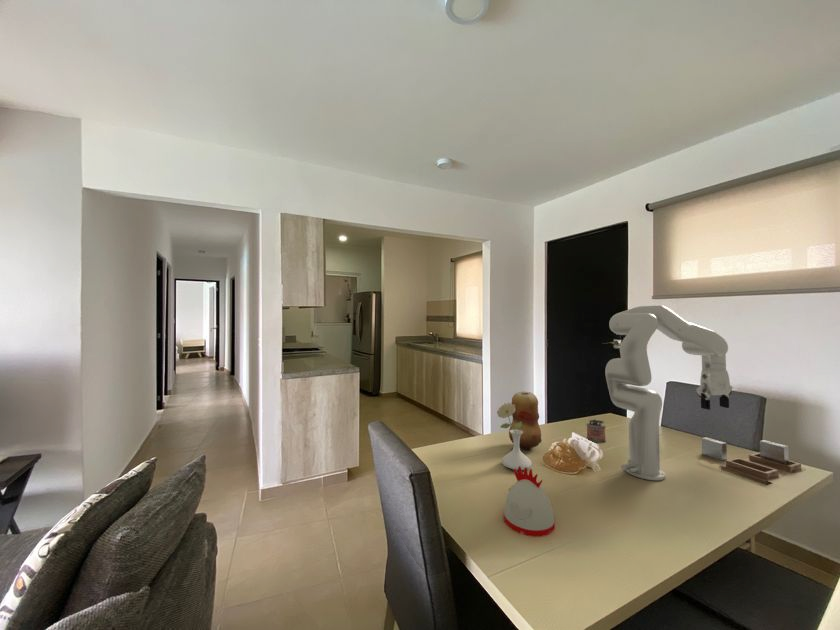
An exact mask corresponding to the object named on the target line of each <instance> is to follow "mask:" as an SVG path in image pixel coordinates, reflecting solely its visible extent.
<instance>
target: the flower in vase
mask: <svg viewBox="0 0 840 630" xmlns="http://www.w3.org/2000/svg"><path fill="white" fill-rule="evenodd" d="M496 412H497V413H496V414H497V417H499V418H502V419H506V418H508V420H509V423H508V422H505V423H502V425H500V428H503V429H508V428H510V426H512V425H511V424H512V421H511V419H510V418H511V417H513V416H512V414H513V413H514V412H515V406H514V404H513V405H512V402H507V403H504V404H501V406H500V407H498V410H497V411H496ZM521 424H522V421H521V422H519V423H516V424H515V425H514V428H519V427H520V426H521ZM512 428H513V426H512ZM514 428H513V430H510V433H511V434H512V437H513V442H512V444H513V446H512V447H513V448H512V450H511V451H510V452H508V453H507V454H505V455H504V456H503V457H502V458H501V464H503V466H504V467H506V468H508V469H510V470H513V471H514V469H516V471H518V467H519V466H520V467H521V470H522V471H524V469H525V468H526V467H527V470H530V469H531V468H532V465H533V463H532V461H531V460H530V458H529V457H527V456H526V454H525V453H523V452H522V451H521V448H520V447H519V442H520V436H521V434H522V433H523V431H521V430H516V429H514Z"/></svg>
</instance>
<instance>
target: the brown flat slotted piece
mask: <svg viewBox="0 0 840 630" xmlns="http://www.w3.org/2000/svg"><path fill="white" fill-rule="evenodd" d="M720 469H721V471H723V472H727V473H729V474H732V475H735V476H739V477H741V478H744V479H746V480H749V481H753V482H755V483H758V484H761V485H764V486H769V485H772V484H774V482H772V480H776V479H779V478H782V477H785V476H788V475H792V474H796V473H798V472H803V471H806V468H803V467H802V463H799V462H797V461H793V460H789V465H785V464H781V463H778V462H774V461H771V460H768V459H764V458H761V457H760V451H759V452H756V453H751V454H748V459H747V458H746V459H743V458H739V457H733V458H732V459H726V460H725V464H722V465H721V466H720Z"/></svg>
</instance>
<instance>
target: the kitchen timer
mask: <svg viewBox="0 0 840 630" xmlns="http://www.w3.org/2000/svg"><path fill="white" fill-rule="evenodd" d="M513 472H514V476H515V477H516V480H517V481H516V482H515V483H514V484H512V485H511V487H510V488H508V493H507V496H506V498H505V499H506V500H505V502H504V506H503V511H502V513H503V520H504V523H505V524H506V526H507V527H508V528H510V529H511V530H513V531H514V532H516V533H518V534H522V535H524V536H527V537H535V538H537V537H545V536H548V535H550V534H552V532H554V530H555V526H556V525H555V523H556V522H555V519H556V518H555V514H554V510H553V506H552V503H551V501H550V498H549V496H548V495H547V492H546V490H545V489H544V488H543V487H542V486H541V485H542V482H543V479H541V480H540V481H539V482H537V478H538V474H535V475H533V469H532V468H529V471H528V469H527V467H526V468H525V469H524V470H521V467H520V466H519V467H518V470H516V469H514V470H513Z"/></svg>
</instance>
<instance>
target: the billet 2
mask: <svg viewBox="0 0 840 630" xmlns="http://www.w3.org/2000/svg"><path fill="white" fill-rule="evenodd" d="M759 452H760V457H761V458H764V459H768V460H771V461H774V462H778V463H781V464H785V465H789V461H790V456H789V455H790V454H789V452H790V450H789V445H785V444H781V443H777V442H773V441H770V440H765V439H763V440H759Z"/></svg>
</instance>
